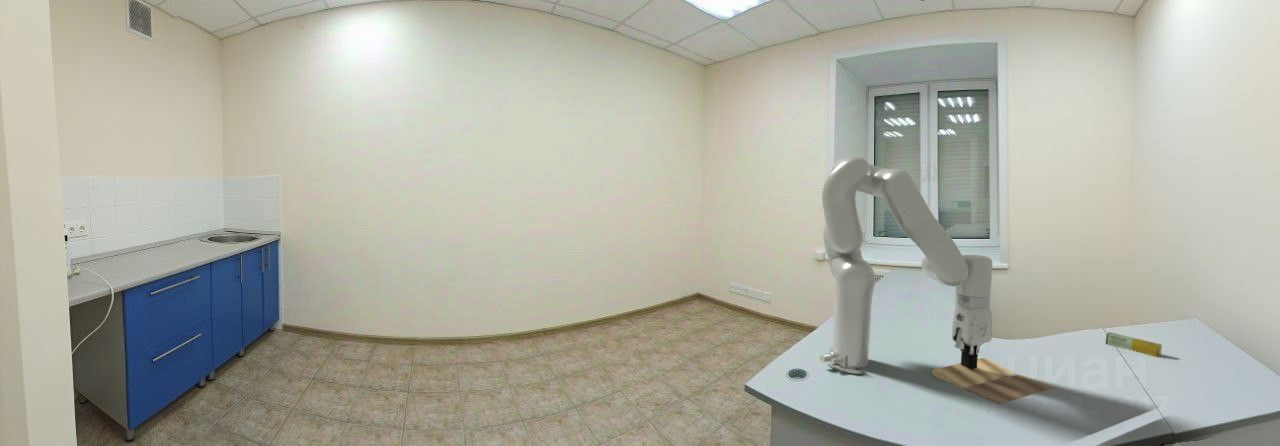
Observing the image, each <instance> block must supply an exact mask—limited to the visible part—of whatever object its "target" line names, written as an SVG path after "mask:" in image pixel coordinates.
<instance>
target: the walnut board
mask: <svg viewBox="0 0 1280 446" xmlns="http://www.w3.org/2000/svg"><path fill="white" fill-rule="evenodd" d="M1051 389H1055V386H1053V385H1051V384H1048V383H1045V382H1041V381H1040V380H1036V379H1034V378H1031V377H1028V376H1025V375H1022V374H1019V373H1018V374H1014V375H1011V376H1007V377H1003V378H999V379H996V380H992V381H988V382H985V383H981V384H977V385H973V386H970V387H966V388H963V390H965V391H966V392H969V393H972V394H974V395H976V396H979V397H981V398H983V399H985V400H988V401H990V402H991V401H992V402H993V403H996V404H998V405H1002V404H1004V403H1007V402H1011V401H1015V400H1017V399H1021V398H1023V397H1028V396H1032V395H1034V394H1037V393H1040V392H1044V391H1047V390H1051Z"/></svg>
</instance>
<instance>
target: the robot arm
mask: <svg viewBox="0 0 1280 446" xmlns="http://www.w3.org/2000/svg"><path fill="white" fill-rule="evenodd" d="M830 171H831V172H830V174H829V175H828V176H827V178H826V180H825V181H824V184H823V187H822V195H821V202H822V208H823V213H824V220H825V224H826V225H825V226H824V228H823V231H822V232H823V242H824V247H825V252H826V255H827V259H828V260H827V261H828V265H829V268H830V271H831V274H832V275H833V278H834V279H835V281H836V287H835V295H834V304H833V328H832V329H833V330H832V331H833V332H832V348H831V349H829V352H828V353H827V354H822V355H821V354H820V355H819V360H820V362H821V363H826V364H827V365H828V366H829V367H831V368H832V369H835V370H837V371H840V372H843V373H846V374H847V373H848V374H854V375H866V374H868V373H867V372H865V371H864V370H862V369H859V368H865V367H867V366H868V365H869V357H870V356H869V353H870V336H871V321H872V319H871V317H872V301H873V294H874V289H875V284H876V276H875V275H876V274H875V272H874V269H873V267H872V266H871V265H870V263H869V262H868V261H866V260H865V259H863V255H862V251H861V248H862V245H863V243H864V233H863V229H862V225H861V222H860V219H859V213H858V209H857V204H856V196H857V192H860V193H862V194H866V195H870V196H874V197H878V198H881V199H883V201H884V202H885V204H886V206H887V207H888V210H889V212H890V214H891V215H892V217H893V218H894V220H895V222H896V223H897V226H898V228H899V229H900V231H902V233H904V235H905V236H906V238H909V239H910V240H911V241H912V242H913V243H914V244H915V245H916V246H917V247H918V249H920V250H921V252H922V254H923V255H924V258H923V259H922V261H921V263H920V264H921V269H922V272H923V273H924V274H925V275H926V276H928V277H929V278H930V279H932V280H934V281H936V282H938V283H940V284H941V285H943V286H944V285H945V286H947V287H955V303H954V304H955V308H954V312H953V318H952V325H951V326H952V327H951V328H952V329H951V337H952V338H951V339H952V340H953V342H955V345H954V348H957V349H959V351H960V352H961V355H960V363H961V365H963V366H965V367H968V368H970V369H974V368H977V359H979V358H978V357H979V353H980V349H981V346H982V345H984V344H988V343H989V342H990V341H992V337H993V318H992V310H991V293H992V280H993V261H992V259H991V258H990V257H989V256H986V255H981V254H962V253H961V251H960V249H959V248H958V245H957V244H956V242H955V240H953V238H952V237H951V236H950V235H949V233H948V232H947V231H946V230H945V228H944V226H943V225H942V224H941V223H940V222H939V221H938V219H937V218H936V217H935V216H934V214H933V212H932V211H931V209H930V207H929V206H928V204H927V202H926V201H925V199H924V197H923V195H922V194H921V192H920V189H918V187H917V185H916V183H915V181H914V180H913V178H912V176H911V175H910V174H909V173H908V172H907V171H906V170H904V169H900V168H886V167H885V168H884V167H880V166H877V165H873V164H870V163H868V161H867V160H866V159H865V158H863V157H861V156H857V155H850V156H847V157H843V158H841V159H839V160H837V161H836V162H835V163H834V164H833V166H832V168H831V170H830Z"/></svg>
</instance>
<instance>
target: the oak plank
mask: <svg viewBox="0 0 1280 446" xmlns="http://www.w3.org/2000/svg"><path fill="white" fill-rule="evenodd" d="M931 375H932V376H934V377H935V378H937V379H939V380H942V381H944V382H947V383H950V384H952V385H954V386H956V387H959V388H962V389H966V388H970V387H973V386H977V385H981V384H984V383H988V382H992V381H996V380H999V379H1003V378H1007V377H1010V376H1014V375H1016V372H1013V371H1011V370H1009V369H1008V368H1005V367H1003V366H1002V365H1000V364H997V362H994V361H992V360H990V359H989V358H987V357H979V358H978V359H977V368H974V369H970V368H968V367H965V366H963V365H961V362H960V363H959V362H958V363H955V364H950V365H948V366H943V367H939V368H935V369H932V372H931Z"/></svg>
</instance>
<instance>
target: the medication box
mask: <svg viewBox="0 0 1280 446" xmlns="http://www.w3.org/2000/svg"><path fill="white" fill-rule="evenodd" d="M1105 336H1106V338H1105V345H1107V346H1111V347H1115V348H1120V349H1123V348H1124V349H1123V350H1127V349H1128V350H1127V351H1131V350H1133V351H1132V352H1135V351H1136V352H1135V353H1139V352H1140V353H1139V354H1143V353H1144V354H1143V355H1147V356H1151V357H1154V358H1155V357H1156V358H1159V357H1161V356H1162V348H1163V344H1161V343H1157V342H1153V341H1148V340H1143V339H1140V338H1135V337H1133V336H1128V335H1123V334H1119V333H1115V332H1107V333H1106V335H1105Z"/></svg>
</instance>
